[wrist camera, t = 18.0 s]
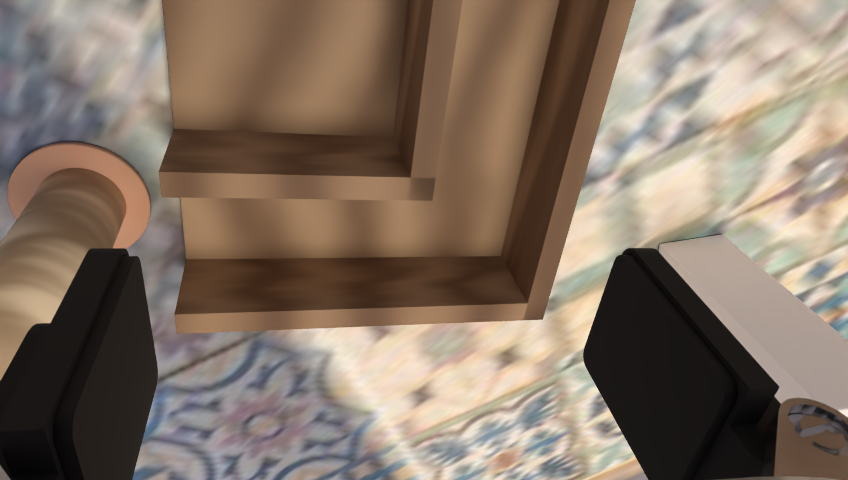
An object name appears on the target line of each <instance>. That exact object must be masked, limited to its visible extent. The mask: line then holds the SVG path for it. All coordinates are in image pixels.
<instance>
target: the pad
mask: <svg viewBox="0 0 848 480" xmlns="http://www.w3.org/2000/svg"><path fill="white" fill-rule="evenodd" d="M68 168H83V169H88V170H92V171H95V172H98V173H100V174H102V175H104V176H106V177H107V178H109V179H110V180H111V181H112V182H114V183H115V184H116V185H117V186H118V188H119V189H120V190H121V192H122V194H123V196H124V198H125V201H126V215H125V218H124V220H123V223H122V226H121V228H120V231H119V233H118V236H117V238H116V241H115V243H114V246H113V248H125V249H126V248H127V247H129V246H130V245H132V244H133V243H134V242H136V241H137V240H138V238H139V237H140V236H141V235H142V233H143V232H144V230H145V228H146V226H147V224H148V220H149V217H150V213H151V199H150V194H149V191H148V188H147V186H146V184H145V182H144V180H143V179H142V177H141V176H140V174H139V173H138V172H137V171H136V170H135V169H134V168H133V167H132V166H131V165H130V164H129V163H128V162H127V161H125V160H124V159H123V158H121V157H120V156H118V155H116V154H115V153H113V152H111V151H109V150H106V149H104V148H102V147H99V146H95V145H92V144H87V143H81V142H59V143H53V144H49V145H45V146H43V147H40V148H38V149H36V150H34V151H33V152H31V153H30V154H28V155H27V156H26V157H25V158H24V159H23V160H22V161H21V162H20V163H19V164H18V166H17V167H16V168H15V170H14V171H13V173H12V175H11V177H10V180H9V184H8V201H9V205H10V208H11V211H12V213H13V215H14V217H15V219H16V220H17V219H18V217H19V216H20V214H21V213H22V211H23V210H24V208H25V207H26V206H27V204H28V203H29V201H30V200H31V198H32V197H33V195H34V194H35V192H36V191H37V190H38V188H39V187H40V185H41V184H42V182H43V181H44V180H45V179H46V178H47V177H48V176H49V175H51V174H52V173H54V172H57V171H59V170H62V169H68Z"/></svg>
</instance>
